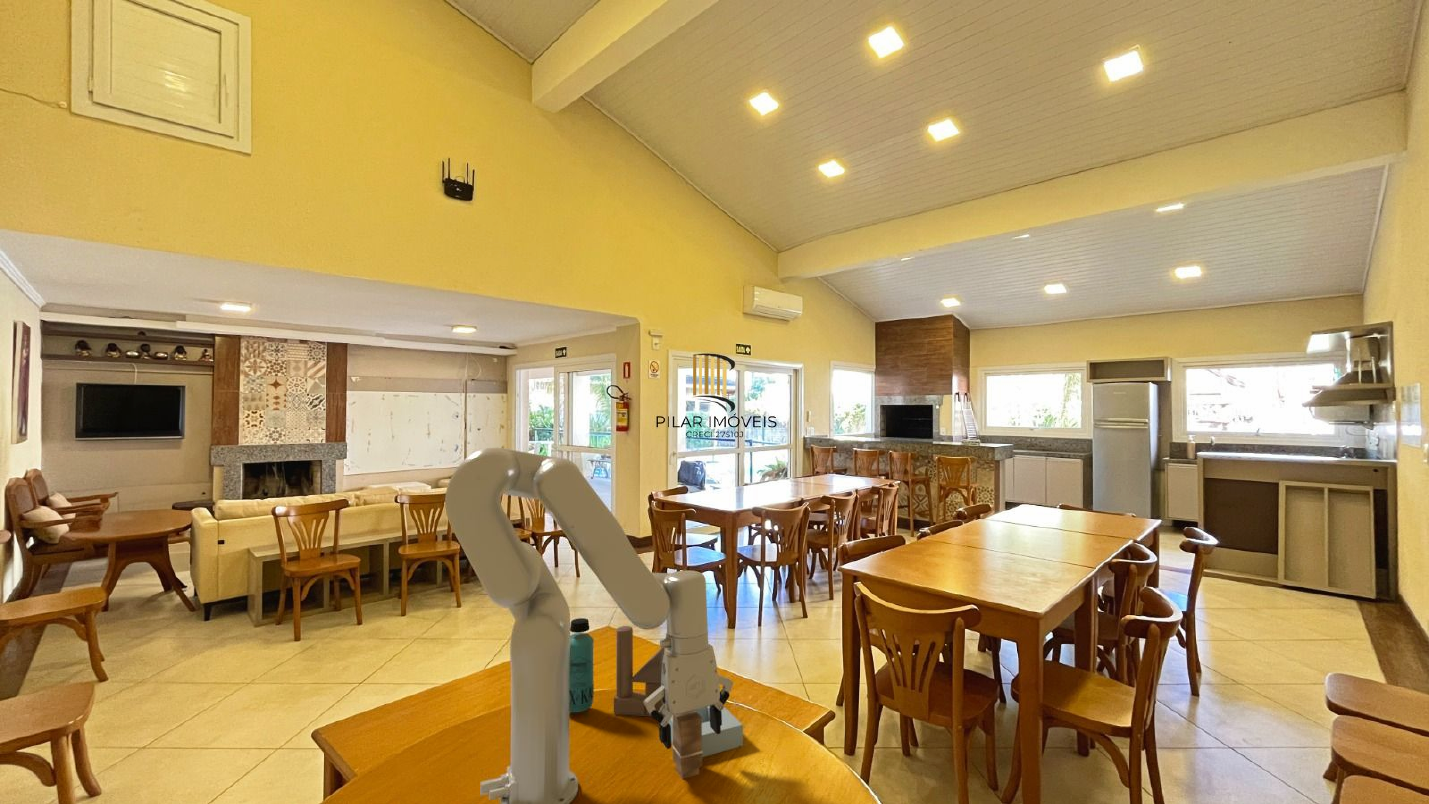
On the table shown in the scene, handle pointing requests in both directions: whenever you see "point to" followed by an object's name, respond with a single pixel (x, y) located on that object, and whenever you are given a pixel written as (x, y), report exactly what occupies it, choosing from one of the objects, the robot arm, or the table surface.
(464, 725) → the table surface
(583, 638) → the beverage bottle
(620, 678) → the wooden block structure
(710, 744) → the grey square-hole block
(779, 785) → the table surface
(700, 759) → the peg
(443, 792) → the table surface
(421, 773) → the table surface
